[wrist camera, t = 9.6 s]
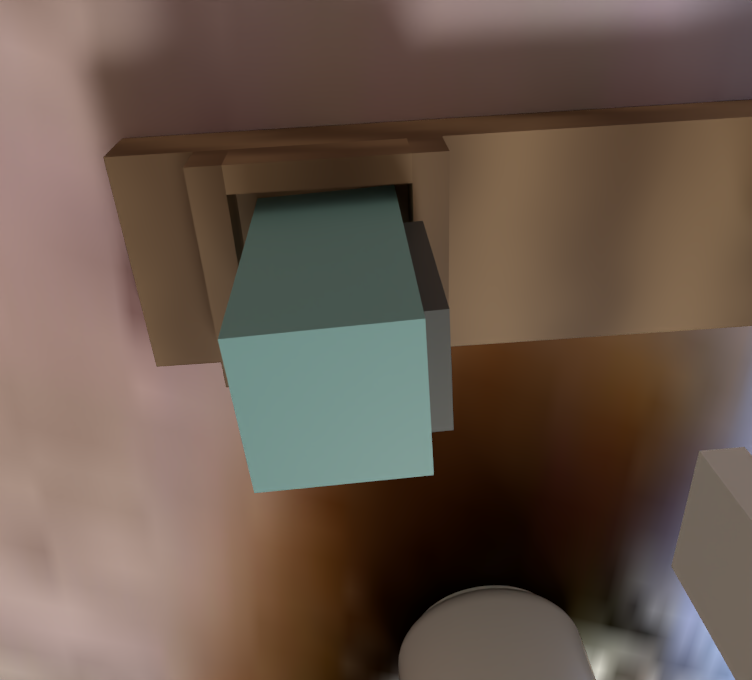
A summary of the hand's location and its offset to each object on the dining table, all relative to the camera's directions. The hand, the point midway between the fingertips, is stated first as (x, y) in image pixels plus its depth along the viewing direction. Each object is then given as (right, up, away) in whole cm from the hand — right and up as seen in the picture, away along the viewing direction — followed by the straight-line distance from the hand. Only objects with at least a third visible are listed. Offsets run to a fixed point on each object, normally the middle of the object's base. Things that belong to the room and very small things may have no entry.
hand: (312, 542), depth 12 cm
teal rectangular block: (0, +6, +9) cm, 11 cm away
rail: (+7, +8, +11) cm, 16 cm away
